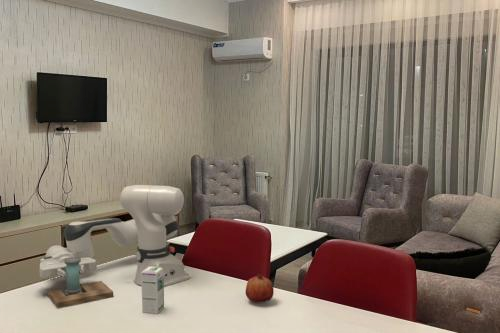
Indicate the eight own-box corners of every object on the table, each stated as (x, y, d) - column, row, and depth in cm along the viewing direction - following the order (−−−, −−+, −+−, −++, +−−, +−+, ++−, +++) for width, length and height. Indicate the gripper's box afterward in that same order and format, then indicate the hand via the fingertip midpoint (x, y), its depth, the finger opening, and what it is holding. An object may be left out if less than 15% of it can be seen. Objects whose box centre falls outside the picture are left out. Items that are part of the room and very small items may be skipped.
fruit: (279, 302, 170) (280, 275, 169) (261, 310, 162) (261, 281, 161) (257, 294, 177) (258, 268, 176) (239, 301, 169) (239, 274, 169)
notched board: (101, 285, 183) (101, 280, 183) (113, 296, 172) (113, 291, 172) (48, 296, 172) (47, 290, 172) (57, 308, 161) (57, 302, 161)
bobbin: (79, 287, 176) (78, 256, 175) (83, 291, 172) (82, 260, 171) (63, 290, 173) (62, 258, 172) (67, 295, 169) (66, 262, 167)
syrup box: (157, 314, 157) (157, 272, 156) (141, 312, 159) (141, 270, 157) (164, 307, 163) (164, 267, 162) (148, 306, 164) (148, 265, 163)
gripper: (91, 266, 188) (102, 276, 177) (36, 275, 177) (44, 286, 166) (90, 251, 188) (101, 260, 177) (35, 259, 176) (43, 269, 165)
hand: (73, 273), depth 171 cm, fingers closed on bobbin, 4 cm apart
